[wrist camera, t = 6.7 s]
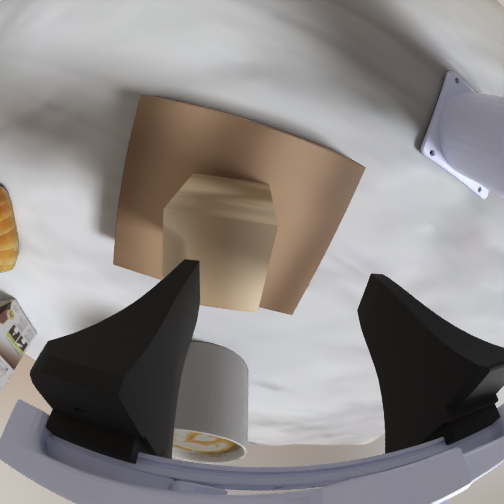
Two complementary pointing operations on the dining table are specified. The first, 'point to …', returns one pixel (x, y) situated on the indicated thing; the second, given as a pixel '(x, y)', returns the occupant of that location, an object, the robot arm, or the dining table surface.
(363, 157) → the dining table surface
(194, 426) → the coffee mug
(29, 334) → the coffee box
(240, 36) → the dining table surface
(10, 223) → the pastry
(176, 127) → the walnut base
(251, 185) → the beech block
